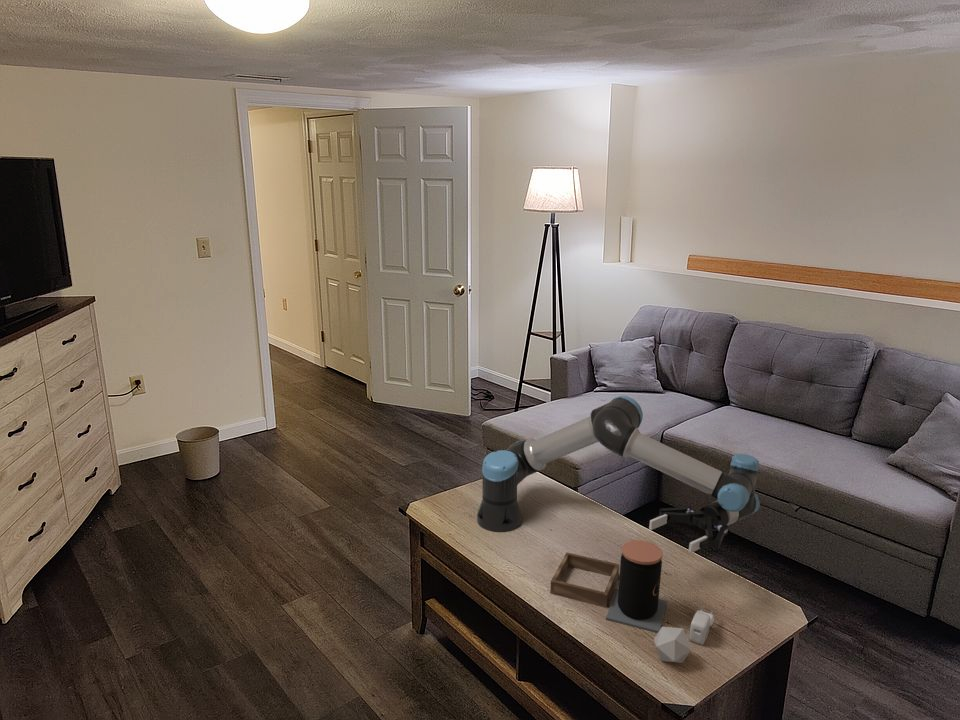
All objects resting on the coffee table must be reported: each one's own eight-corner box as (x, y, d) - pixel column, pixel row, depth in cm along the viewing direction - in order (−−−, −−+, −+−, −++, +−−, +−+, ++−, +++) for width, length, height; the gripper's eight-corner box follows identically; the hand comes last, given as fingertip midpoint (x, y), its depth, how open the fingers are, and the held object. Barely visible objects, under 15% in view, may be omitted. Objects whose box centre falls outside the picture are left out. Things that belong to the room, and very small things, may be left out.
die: (678, 678, 162) (701, 645, 162) (647, 655, 163) (670, 622, 163) (673, 665, 170) (695, 634, 170) (644, 644, 171) (665, 612, 171)
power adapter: (697, 617, 182) (699, 598, 181) (716, 623, 180) (718, 604, 178) (686, 640, 173) (688, 621, 172) (705, 647, 171) (707, 628, 169)
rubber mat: (616, 590, 194) (617, 588, 193) (667, 602, 188) (667, 600, 188) (605, 619, 181) (605, 617, 181) (659, 633, 176) (659, 631, 176)
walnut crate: (566, 563, 206) (566, 552, 205) (618, 576, 200) (619, 564, 199) (550, 593, 192) (550, 581, 191) (606, 607, 186) (607, 595, 185)
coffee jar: (658, 623, 179) (664, 564, 174) (617, 618, 181) (621, 559, 176) (656, 599, 189) (661, 542, 184) (617, 594, 191) (621, 537, 186)
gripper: (755, 546, 187) (706, 570, 176) (682, 508, 207) (634, 528, 195) (758, 521, 185) (709, 545, 173) (684, 485, 205) (636, 504, 193)
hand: (669, 536), depth 184 cm, fingers open, 13 cm apart
